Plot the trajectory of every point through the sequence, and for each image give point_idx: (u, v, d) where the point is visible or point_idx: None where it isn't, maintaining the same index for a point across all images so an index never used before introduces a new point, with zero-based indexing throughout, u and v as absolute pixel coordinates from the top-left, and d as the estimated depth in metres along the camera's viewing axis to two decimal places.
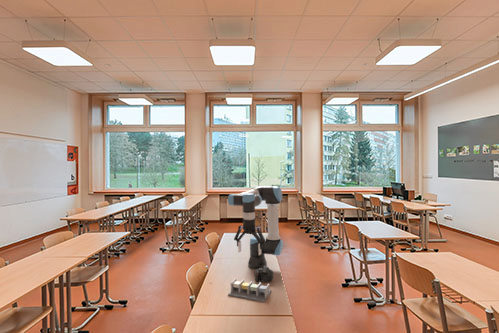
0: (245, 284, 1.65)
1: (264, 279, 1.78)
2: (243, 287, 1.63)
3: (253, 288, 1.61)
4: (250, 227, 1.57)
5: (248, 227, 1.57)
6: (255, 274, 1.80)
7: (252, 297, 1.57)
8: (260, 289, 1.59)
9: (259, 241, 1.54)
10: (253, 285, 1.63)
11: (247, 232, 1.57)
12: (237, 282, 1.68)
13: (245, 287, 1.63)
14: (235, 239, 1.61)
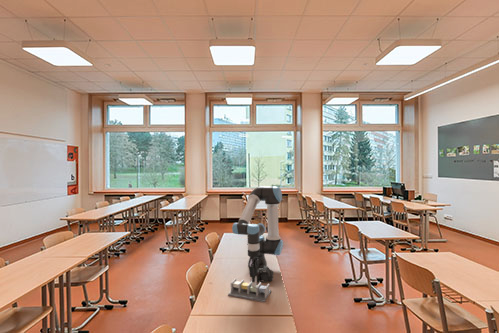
0: (245, 284, 1.65)
1: (264, 279, 1.78)
2: (243, 287, 1.63)
3: (253, 289, 1.61)
4: None
5: None
6: None
7: (252, 297, 1.57)
8: (260, 289, 1.59)
9: None
10: None
11: None
12: (237, 282, 1.68)
13: (245, 287, 1.63)
14: None
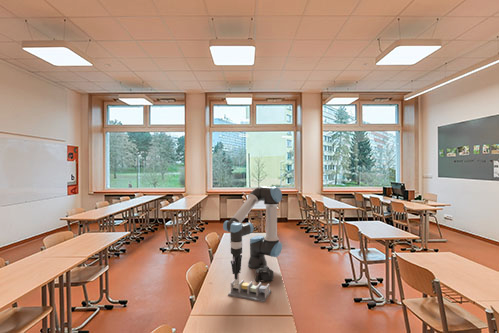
0: (245, 284, 1.65)
1: (264, 279, 1.78)
2: (243, 287, 1.63)
3: (253, 289, 1.61)
4: None
5: None
6: (255, 274, 1.80)
7: (252, 297, 1.57)
8: (260, 289, 1.59)
9: None
10: (253, 287, 1.63)
11: None
12: None
13: (245, 287, 1.63)
14: None
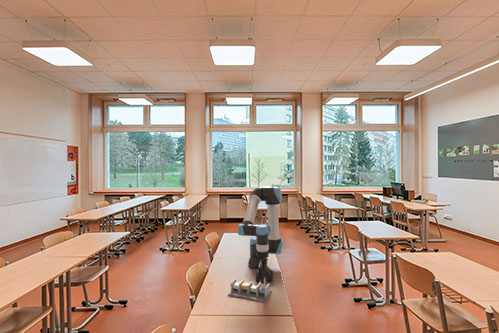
0: (245, 284, 1.65)
1: None
2: (243, 287, 1.63)
3: (253, 289, 1.61)
4: None
5: None
6: (255, 274, 1.81)
7: (252, 297, 1.57)
8: (260, 290, 1.59)
9: None
10: (253, 287, 1.63)
11: None
12: (237, 283, 1.68)
13: (245, 287, 1.63)
14: None
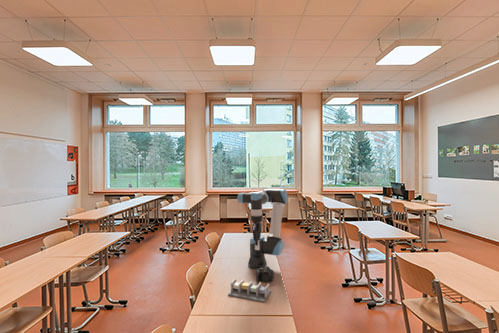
0: (245, 284, 1.65)
1: (264, 279, 1.79)
2: (243, 287, 1.63)
3: (253, 289, 1.61)
4: None
5: None
6: (256, 273, 1.81)
7: (252, 297, 1.57)
8: (260, 290, 1.59)
9: None
10: (253, 287, 1.63)
11: None
12: (237, 283, 1.68)
13: (245, 287, 1.63)
14: None
